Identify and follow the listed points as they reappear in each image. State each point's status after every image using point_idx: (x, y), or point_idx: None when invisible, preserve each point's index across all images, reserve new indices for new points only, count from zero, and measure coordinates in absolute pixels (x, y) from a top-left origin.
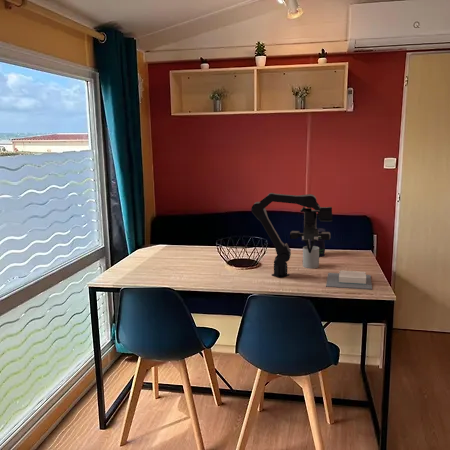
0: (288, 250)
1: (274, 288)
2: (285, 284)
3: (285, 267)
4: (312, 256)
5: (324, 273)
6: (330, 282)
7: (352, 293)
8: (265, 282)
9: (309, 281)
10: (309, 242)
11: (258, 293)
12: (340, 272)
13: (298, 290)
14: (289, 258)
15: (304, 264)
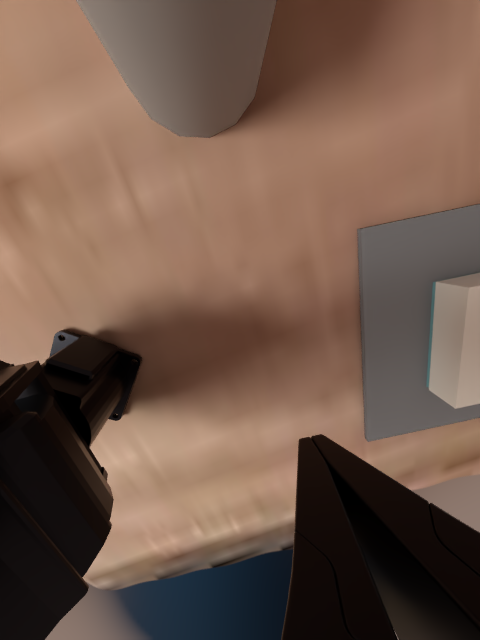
0: (32, 618)
1: (164, 527)
2: (185, 476)
3: (104, 417)
4: (227, 55)
5: (333, 231)
6: (385, 395)
7: (469, 461)
8: None
9: (278, 401)
10: (387, 624)
11: (135, 581)
12: (470, 329)
13: (263, 510)
14: (110, 507)
15: (148, 108)
